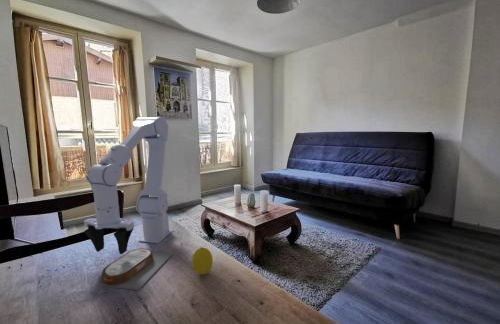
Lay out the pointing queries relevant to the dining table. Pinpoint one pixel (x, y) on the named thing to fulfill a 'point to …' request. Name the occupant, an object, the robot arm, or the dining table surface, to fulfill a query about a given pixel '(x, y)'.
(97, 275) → the dining table surface
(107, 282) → the tin
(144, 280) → the felt mat
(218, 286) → the dining table surface
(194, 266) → the lemon
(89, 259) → the dining table surface
